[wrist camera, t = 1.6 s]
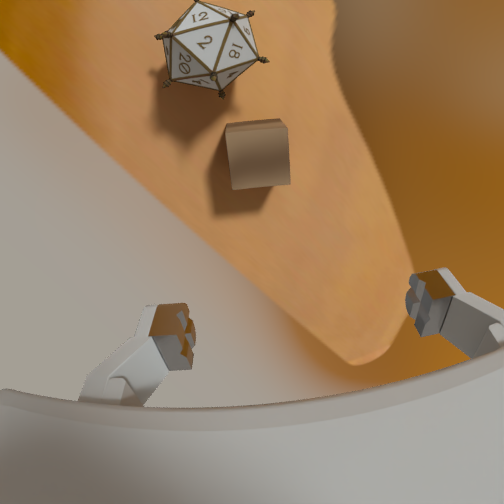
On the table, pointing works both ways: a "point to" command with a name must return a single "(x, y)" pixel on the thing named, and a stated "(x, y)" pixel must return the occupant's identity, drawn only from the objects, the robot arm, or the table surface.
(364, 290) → the table surface
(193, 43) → the game die
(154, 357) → the robot arm
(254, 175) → the walnut cube
